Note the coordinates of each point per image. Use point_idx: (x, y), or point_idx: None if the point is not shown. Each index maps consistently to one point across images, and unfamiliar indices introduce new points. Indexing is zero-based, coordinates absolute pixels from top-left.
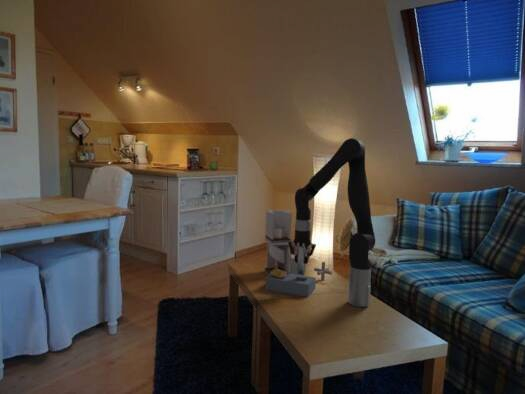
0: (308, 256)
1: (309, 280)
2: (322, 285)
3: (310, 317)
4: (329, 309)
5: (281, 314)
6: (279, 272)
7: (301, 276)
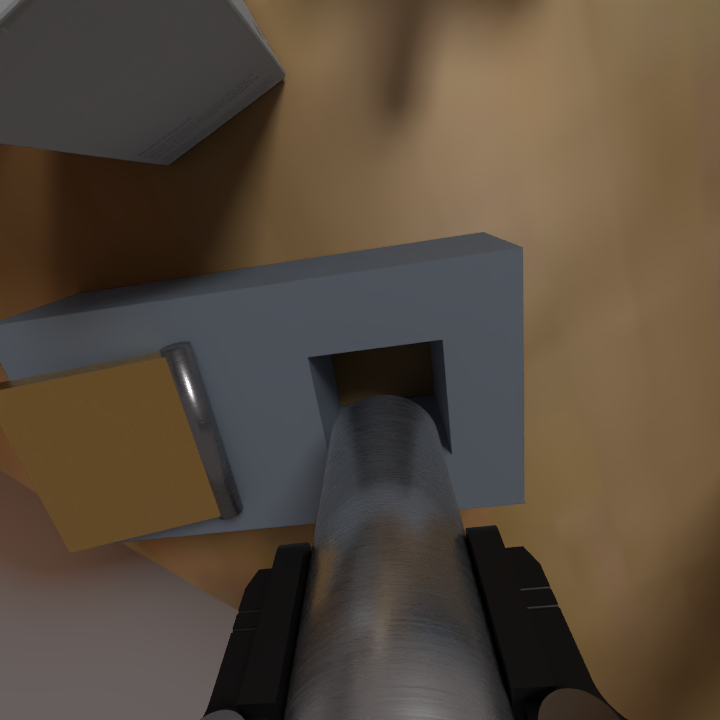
0: (602, 707)
1: (488, 392)
2: (521, 57)
3: (596, 658)
4: (686, 538)
5: None
6: (123, 462)
7: (349, 317)
